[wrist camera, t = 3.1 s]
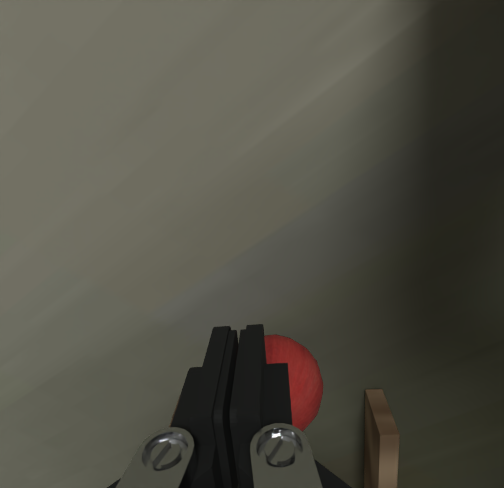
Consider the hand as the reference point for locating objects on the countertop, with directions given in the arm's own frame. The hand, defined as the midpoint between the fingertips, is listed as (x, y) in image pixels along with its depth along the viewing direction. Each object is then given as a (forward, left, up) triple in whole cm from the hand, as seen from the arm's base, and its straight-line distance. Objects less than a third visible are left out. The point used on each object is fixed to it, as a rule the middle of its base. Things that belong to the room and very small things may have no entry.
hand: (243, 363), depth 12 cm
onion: (+8, 0, -12) cm, 14 cm away
